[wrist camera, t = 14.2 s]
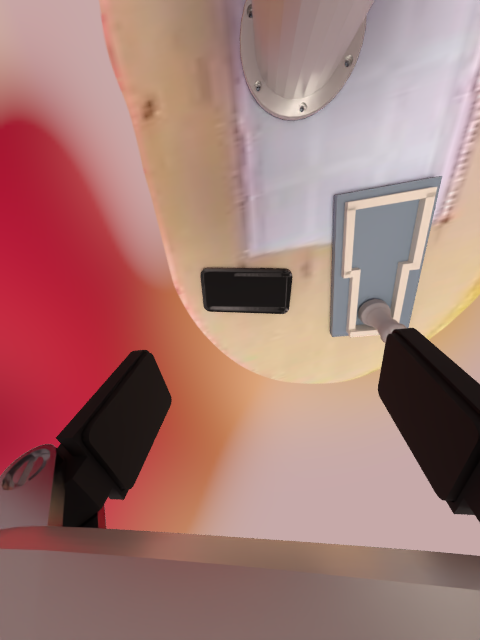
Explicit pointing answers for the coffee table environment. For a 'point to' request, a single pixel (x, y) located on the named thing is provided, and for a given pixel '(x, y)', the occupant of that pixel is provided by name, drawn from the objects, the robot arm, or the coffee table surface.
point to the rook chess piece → (378, 317)
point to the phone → (246, 290)
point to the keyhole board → (379, 251)
